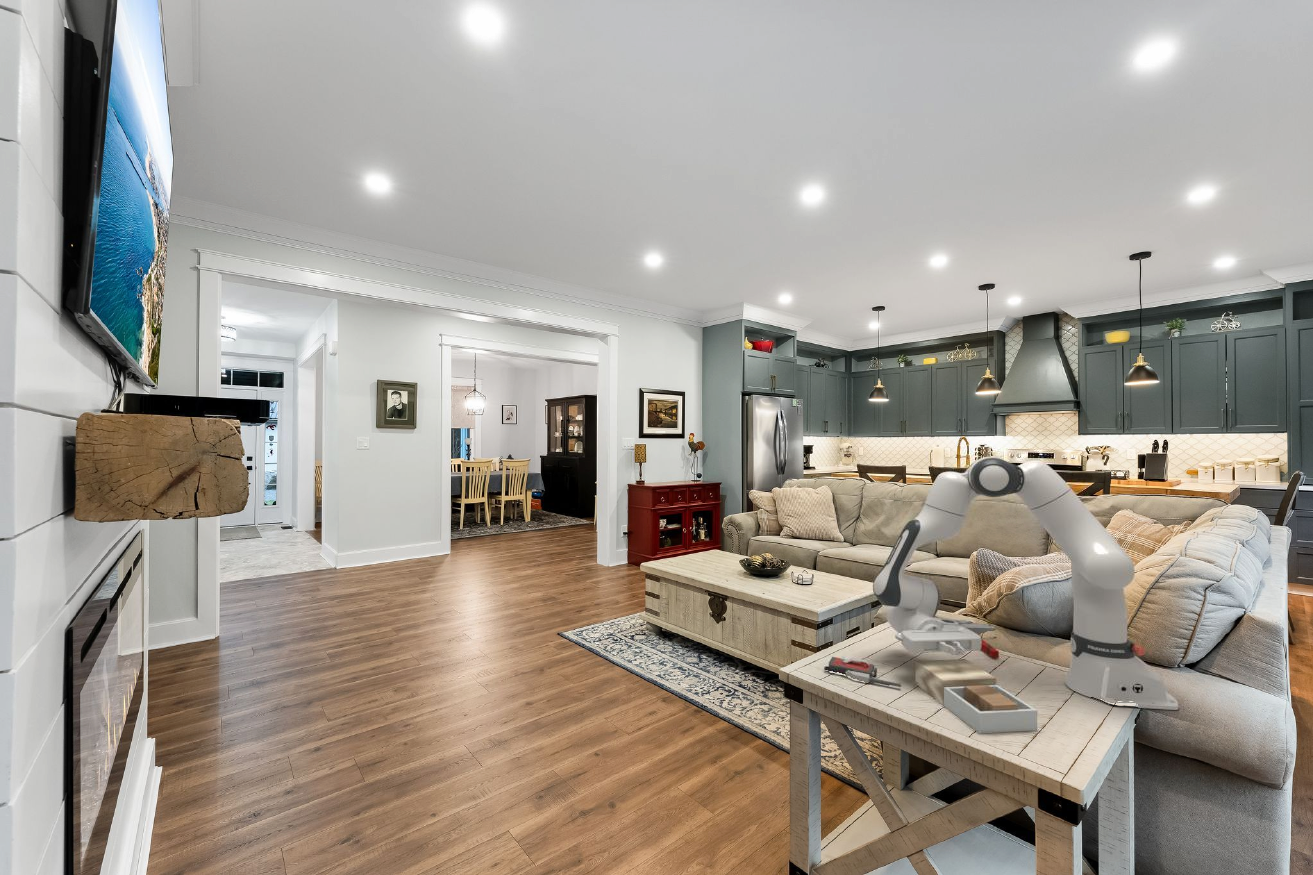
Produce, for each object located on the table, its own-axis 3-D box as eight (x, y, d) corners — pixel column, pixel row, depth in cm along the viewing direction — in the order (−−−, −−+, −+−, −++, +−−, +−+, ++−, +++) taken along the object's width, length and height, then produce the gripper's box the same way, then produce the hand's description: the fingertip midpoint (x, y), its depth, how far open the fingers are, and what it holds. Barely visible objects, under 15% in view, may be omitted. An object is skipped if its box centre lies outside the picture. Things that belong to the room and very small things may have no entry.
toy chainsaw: (822, 676, 157) (900, 692, 147) (822, 660, 157) (900, 675, 147) (829, 664, 165) (904, 679, 155) (829, 649, 165) (904, 663, 155)
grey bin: (943, 705, 140) (943, 687, 140) (996, 702, 141) (996, 684, 141) (979, 733, 127) (979, 713, 127) (1037, 730, 128) (1037, 710, 128)
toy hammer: (945, 646, 169) (906, 614, 199) (945, 659, 170) (906, 625, 199) (1028, 649, 168) (977, 616, 198) (1028, 661, 168) (976, 626, 198)
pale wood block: (915, 683, 152) (915, 661, 152) (964, 681, 154) (964, 659, 154) (942, 704, 140) (943, 680, 140) (995, 702, 142) (996, 678, 142)
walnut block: (964, 685, 138) (993, 705, 128) (987, 684, 139) (1017, 704, 129) (964, 706, 138) (993, 727, 128) (987, 705, 139) (1017, 726, 129)
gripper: (892, 622, 157) (921, 641, 143) (961, 620, 160) (996, 638, 146) (891, 645, 157) (920, 666, 143) (960, 643, 160) (995, 663, 146)
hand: (959, 652), depth 145 cm, fingers closed
